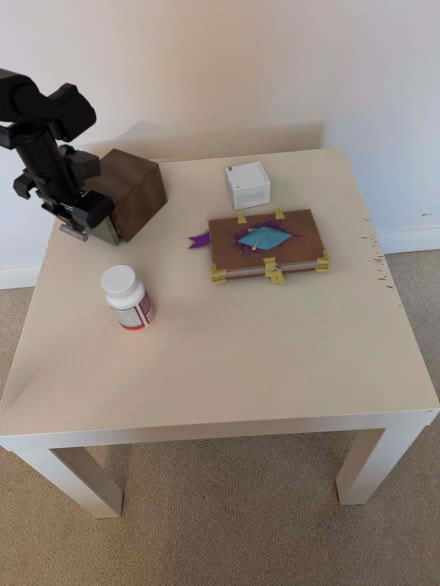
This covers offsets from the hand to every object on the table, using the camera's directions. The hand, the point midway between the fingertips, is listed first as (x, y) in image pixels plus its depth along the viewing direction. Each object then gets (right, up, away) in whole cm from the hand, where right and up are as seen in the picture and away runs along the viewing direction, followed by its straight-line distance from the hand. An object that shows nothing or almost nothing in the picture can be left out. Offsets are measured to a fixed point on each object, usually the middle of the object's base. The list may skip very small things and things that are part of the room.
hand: (81, 230), depth 70 cm
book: (+32, -4, 0) cm, 33 cm away
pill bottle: (+12, -16, -6) cm, 21 cm away
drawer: (+3, +2, +6) cm, 7 cm away
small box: (+32, +9, +9) cm, 34 cm away
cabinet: (+6, +5, +9) cm, 12 cm away
